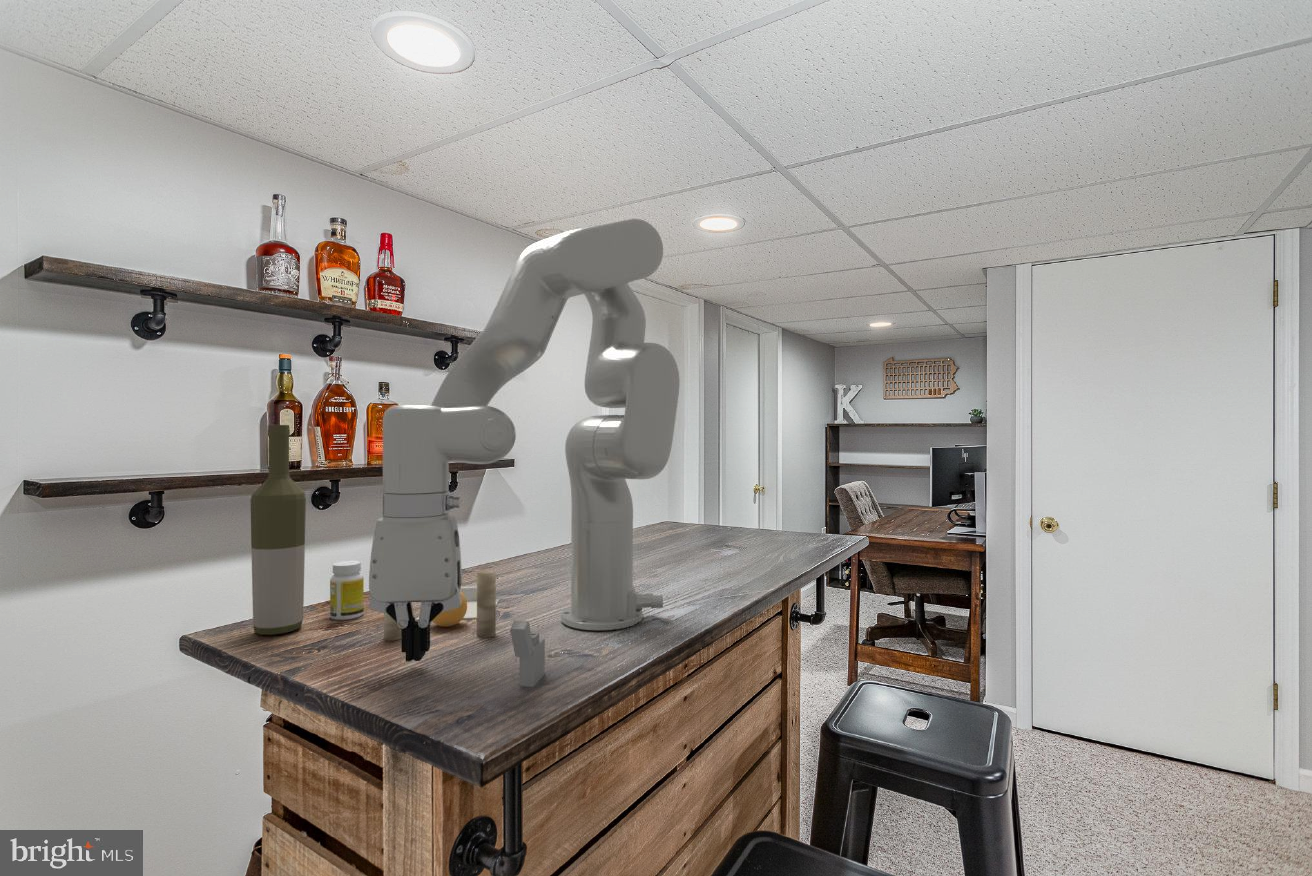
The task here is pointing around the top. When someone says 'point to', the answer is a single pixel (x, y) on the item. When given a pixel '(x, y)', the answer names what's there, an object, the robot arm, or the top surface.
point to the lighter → (528, 653)
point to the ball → (452, 615)
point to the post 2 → (486, 603)
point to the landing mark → (471, 610)
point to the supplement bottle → (346, 591)
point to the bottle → (278, 543)
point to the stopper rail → (469, 593)
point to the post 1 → (391, 629)
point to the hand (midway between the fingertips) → (415, 657)
